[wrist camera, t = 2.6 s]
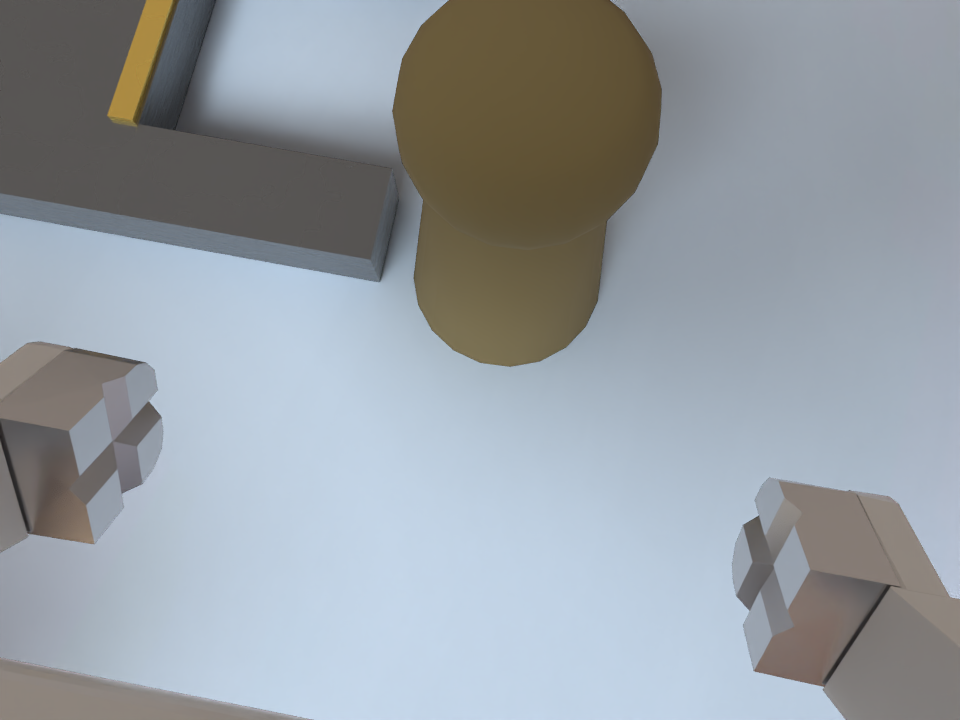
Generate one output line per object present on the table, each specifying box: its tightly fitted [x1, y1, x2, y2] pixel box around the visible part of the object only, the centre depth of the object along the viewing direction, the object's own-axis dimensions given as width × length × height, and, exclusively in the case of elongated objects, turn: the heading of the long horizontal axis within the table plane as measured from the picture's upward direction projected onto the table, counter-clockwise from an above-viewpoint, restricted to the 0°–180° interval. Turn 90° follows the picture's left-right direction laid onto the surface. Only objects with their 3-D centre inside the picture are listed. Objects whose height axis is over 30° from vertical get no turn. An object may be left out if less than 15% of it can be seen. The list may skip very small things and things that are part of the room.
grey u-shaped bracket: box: [0, 0, 399, 282], centre depth 24 cm, size 14×14×2 cm
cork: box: [392, 0, 662, 367], centre depth 18 cm, size 6×6×11 cm
